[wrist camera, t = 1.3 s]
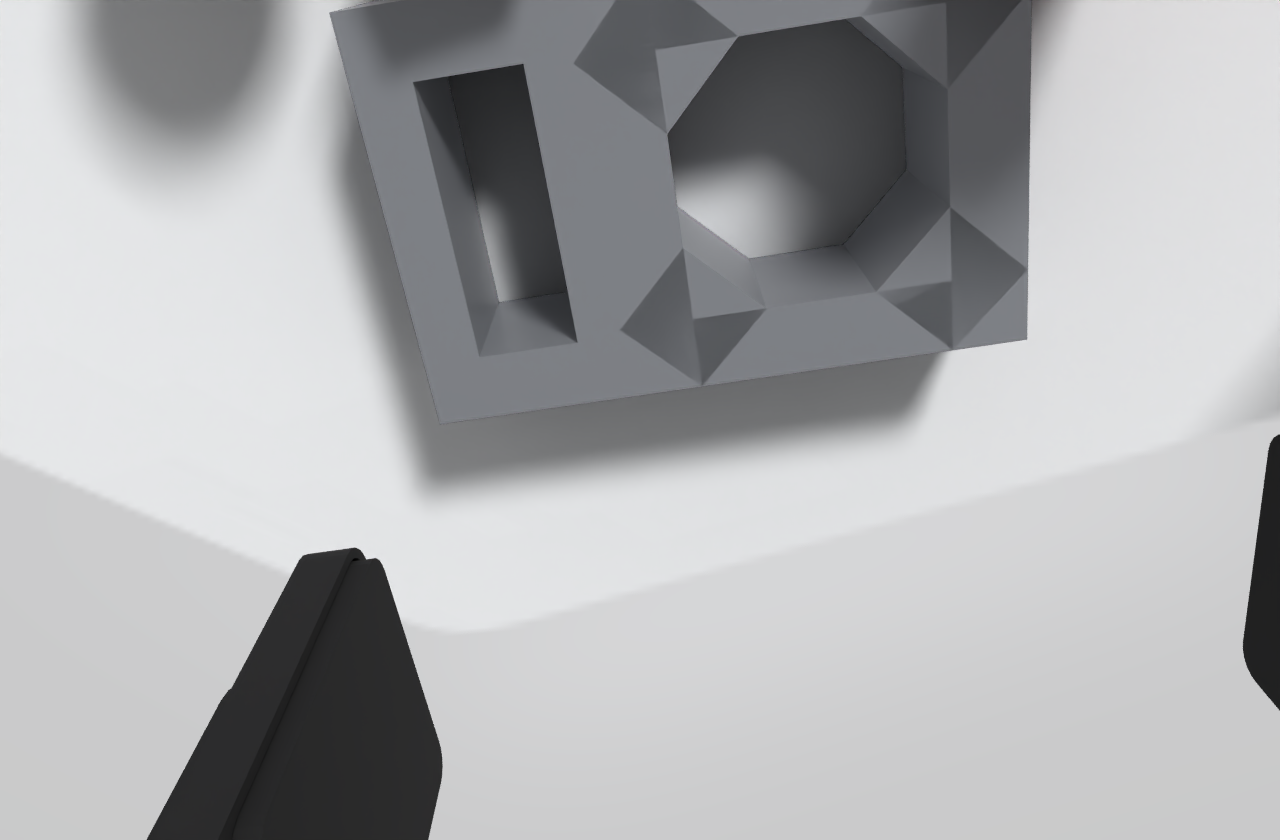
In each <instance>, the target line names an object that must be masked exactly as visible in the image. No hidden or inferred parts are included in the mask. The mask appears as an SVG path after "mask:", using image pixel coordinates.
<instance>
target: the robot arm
mask: <svg viewBox="0 0 1280 840" xmlns="http://www.w3.org/2000/svg"><path fill="white" fill-rule="evenodd" d="M1243 653H1244V658H1245V662H1246V665H1247V668H1248V670H1249V672H1250V674H1251V676H1252V677H1253V679H1254V680H1255V681H1256V683H1257V684H1258V685H1259V686H1260V687H1261V689H1262V690H1263V691H1264V692H1265V693H1266V695H1267V696H1268V697H1269V698H1270V699H1271V701H1272V702H1273V703H1274V704H1275V705H1276V707H1277V708H1278V709H1279V710H1280V435H1277V436H1276V437H1274V438H1273V440H1272V441H1271V443H1270V447H1269V450H1268V458H1267V465H1266V473H1265V480H1264V488H1263V496H1262V503H1261V510H1260V518H1259V525H1258V533H1257V540H1256V548H1255V556H1254V564H1253V571H1252V579H1251V586H1250V594H1249V602H1248V608H1247V616H1246V624H1245V631H1244V639H1243ZM441 778H442V753H441V747H440V744H439V740H438V737H437V734H436V731H435V728H434V724H433V721H432V718H431V715H430V712H429V709H428V705H427V702H426V699H425V696H424V693H423V690H422V687H421V683H420V680H419V677H418V674H417V671H416V668H415V664H414V661H413V658H412V655H411V652H410V649H409V646H408V643H407V639H406V636H405V633H404V630H403V627H402V624H401V620H400V617H399V614H398V611H397V608H396V605H395V602H394V598H393V595H392V592H391V589H390V586H389V583H388V580H387V576H386V573H385V570H384V568H383V565H382V564H381V562H380V561H379V560H378V559H376V558H374V559H367V560H366V558H365V556H364V555H363V553H362V552H361V550H359V549H357V548H349V549H342V550H335V551H327V552H320V553H313V554H307V555H304V556H302V558H301V559H300V560H299V562H298V564H297V565H296V567H295V569H294V571H293V573H292V575H291V577H290V579H289V581H288V583H287V584H286V586H285V588H284V591H283V592H282V594H281V596H280V598H279V600H278V602H277V603H276V605H275V607H274V609H273V611H272V613H271V615H270V617H269V619H268V620H267V622H266V624H265V626H264V628H263V630H262V632H261V634H260V635H259V637H258V639H257V641H256V643H255V645H254V647H253V649H252V651H251V652H250V654H249V657H248V658H247V660H246V662H245V664H244V666H243V668H242V670H241V671H240V673H239V675H238V677H237V679H236V681H235V683H234V685H233V687H232V688H231V689H230V690H228V692H227V693H226V695H225V696H224V697H223V699H222V700H221V702H220V703H219V705H218V707H217V709H216V711H215V713H214V715H213V717H212V719H211V720H210V722H209V724H208V726H207V728H206V730H205V731H204V733H203V735H202V737H201V739H200V741H199V743H198V745H197V747H196V748H195V750H194V752H193V754H192V756H191V758H190V760H189V762H188V763H187V765H186V767H185V769H184V771H183V773H182V775H181V776H180V778H179V780H178V782H177V784H176V786H175V788H174V790H173V791H172V793H171V795H170V797H169V799H168V801H167V803H166V804H165V806H164V808H163V810H162V812H161V814H160V816H159V818H158V820H157V821H156V823H155V825H154V827H153V829H152V831H151V833H150V835H149V836H148V838H147V840H428V838H429V833H430V829H431V824H432V820H433V815H434V811H435V807H436V802H437V797H438V793H439V789H440V784H441Z"/></svg>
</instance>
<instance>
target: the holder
mask: <svg viewBox="0 0 1280 840" xmlns="http://www.w3.org/2000/svg"><path fill="white" fill-rule="evenodd" d="M1031 13H1032V0H376V1H372V2H368V3H364V4H360V5H357V6H353V7H349V8H345V9H341V10H338V11H334V12H330V17H331V21H332V24H333V28H334V32H335V36H336V39H337V43H338V47H339V50H340V54H341V58H342V62H343V65H344V69H345V73H346V76H347V80H348V84H349V88H350V91H351V95H352V99H353V102H354V106H355V110H356V114H357V117H358V121H359V125H360V128H361V132H362V136H363V140H364V143H365V147H366V151H367V155H368V158H369V162H370V166H371V169H372V173H373V177H374V181H375V184H376V188H377V192H378V195H379V199H380V203H381V207H382V210H383V214H384V218H385V221H386V225H387V229H388V233H389V236H390V240H391V244H392V247H393V251H394V255H395V259H396V262H397V266H398V270H399V274H400V277H401V281H402V285H403V288H404V292H405V296H406V300H407V303H408V307H409V311H410V314H411V318H412V322H413V326H414V329H415V333H416V337H417V340H418V344H419V348H420V352H421V355H422V359H423V363H424V367H425V370H426V374H427V378H428V381H429V385H430V389H431V393H432V396H433V400H434V404H435V407H436V411H437V415H438V419H439V422H440V424H446V423H453V422H460V421H467V420H474V419H481V418H488V417H495V416H502V415H508V414H515V413H522V412H529V411H536V410H543V409H550V408H557V407H564V406H571V405H578V404H585V403H591V402H598V401H605V400H612V399H619V398H626V397H633V396H640V395H647V394H654V393H661V392H668V391H674V390H681V389H688V388H695V387H702V386H709V385H716V384H723V383H730V382H737V381H744V380H751V379H757V378H764V377H771V376H778V375H785V374H792V373H799V372H806V371H813V370H820V369H827V368H834V367H840V366H847V365H854V364H861V363H868V362H875V361H882V360H889V359H896V358H903V357H910V356H917V355H923V354H930V353H937V352H944V351H951V350H958V349H965V348H972V347H979V346H986V345H993V344H1000V343H1006V342H1013V341H1020V340H1027V304H1028V231H1029V159H1030V86H1031ZM841 19H846V20H847V21H848V22H849V23H850V24H852V25H853V26H854V27H855V28H856V29H858V30H859V31H860V32H861V33H862V34H864V35H865V36H866V37H867V38H868V39H869V40H871V41H872V42H873V43H874V44H875V45H877V46H878V47H879V48H880V49H881V50H883V51H884V52H885V53H886V54H887V55H889V56H890V57H891V58H892V59H893V60H894V61H896V62H897V63H898V64H899V65H900V66H902V70H903V96H904V121H905V147H906V171H905V172H904V173H903V174H902V175H901V177H900V178H899V179H898V180H897V181H896V183H895V184H894V185H893V186H892V187H891V189H890V190H889V191H888V192H887V193H886V195H885V196H884V197H883V198H882V199H881V200H880V202H879V203H878V204H877V205H876V206H875V208H874V209H873V210H872V211H871V212H870V214H869V215H868V216H867V217H866V218H865V220H864V221H863V222H862V223H861V224H860V226H859V227H858V228H857V229H856V230H855V232H854V233H853V234H852V235H851V236H850V238H849V239H848V240H847V241H846V242H845V243H844V244H843V245H837V246H830V247H824V248H817V249H811V250H804V251H797V252H791V253H784V254H778V255H771V256H764V257H758V258H751V259H748V258H747V257H746V256H744V255H743V254H742V253H740V252H739V251H737V250H736V249H735V248H733V247H732V246H731V245H729V244H728V243H727V242H725V241H724V240H722V239H721V238H720V237H718V236H717V235H716V234H714V233H713V232H712V231H710V230H709V229H707V228H706V227H705V226H703V225H702V224H701V223H699V222H698V221H697V220H695V219H694V218H692V217H691V216H690V215H688V214H687V213H686V212H684V211H683V210H682V209H680V208H679V207H677V201H676V194H675V187H674V180H673V172H672V165H671V158H670V151H669V144H668V137H667V134H668V133H669V131H670V130H671V128H672V127H673V126H674V124H675V123H676V121H677V120H678V119H679V117H680V116H681V115H682V113H683V112H684V110H685V109H686V108H687V106H688V105H689V104H690V102H691V101H692V99H693V98H694V97H695V95H696V94H697V93H698V91H699V90H700V88H701V87H702V86H703V84H704V83H705V81H706V80H707V79H708V77H709V76H710V75H711V73H712V72H713V70H714V69H715V68H716V66H717V65H718V64H719V62H720V61H721V59H722V58H723V57H724V55H725V54H726V53H727V51H728V50H729V48H730V47H731V46H732V44H733V43H734V42H735V40H736V39H737V37H738V36H744V35H750V34H756V33H762V32H768V31H774V30H780V29H786V28H792V27H799V26H805V25H811V24H817V23H823V22H829V21H835V20H841ZM519 64H524V69H525V75H526V80H527V85H528V90H529V95H530V100H531V105H532V111H533V116H534V121H535V126H536V131H537V136H538V141H539V146H540V152H541V157H542V162H543V167H544V172H545V177H546V182H547V188H548V193H549V198H550V203H551V208H552V213H553V218H554V223H555V229H556V234H557V239H558V244H559V249H560V254H561V259H562V265H563V270H564V275H565V280H566V285H567V290H568V292H564V293H558V294H551V295H545V296H538V297H531V298H525V299H518V300H512V301H505V302H499V300H498V296H497V291H496V287H495V283H494V278H493V274H492V269H491V265H490V261H489V256H488V252H487V247H486V243H485V239H484V234H483V230H482V225H481V221H480V217H479V212H478V208H477V203H476V199H475V195H474V190H473V186H472V181H471V177H470V173H469V168H468V164H467V159H466V155H465V151H464V146H463V142H462V137H461V133H460V129H459V124H458V120H457V115H456V111H455V106H454V102H453V98H452V93H451V89H450V84H449V80H448V76H452V75H458V74H464V73H471V72H477V71H483V70H489V69H495V68H501V67H507V66H513V65H519Z"/></svg>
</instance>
